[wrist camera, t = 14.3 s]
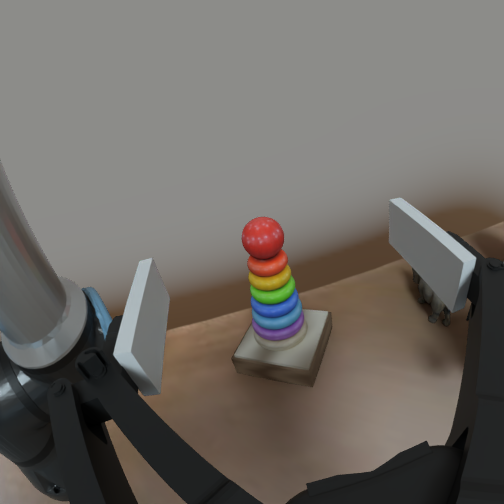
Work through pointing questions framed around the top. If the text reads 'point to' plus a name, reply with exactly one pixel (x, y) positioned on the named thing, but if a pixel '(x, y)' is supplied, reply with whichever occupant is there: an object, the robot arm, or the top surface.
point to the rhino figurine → (431, 299)
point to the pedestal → (287, 353)
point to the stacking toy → (272, 288)
